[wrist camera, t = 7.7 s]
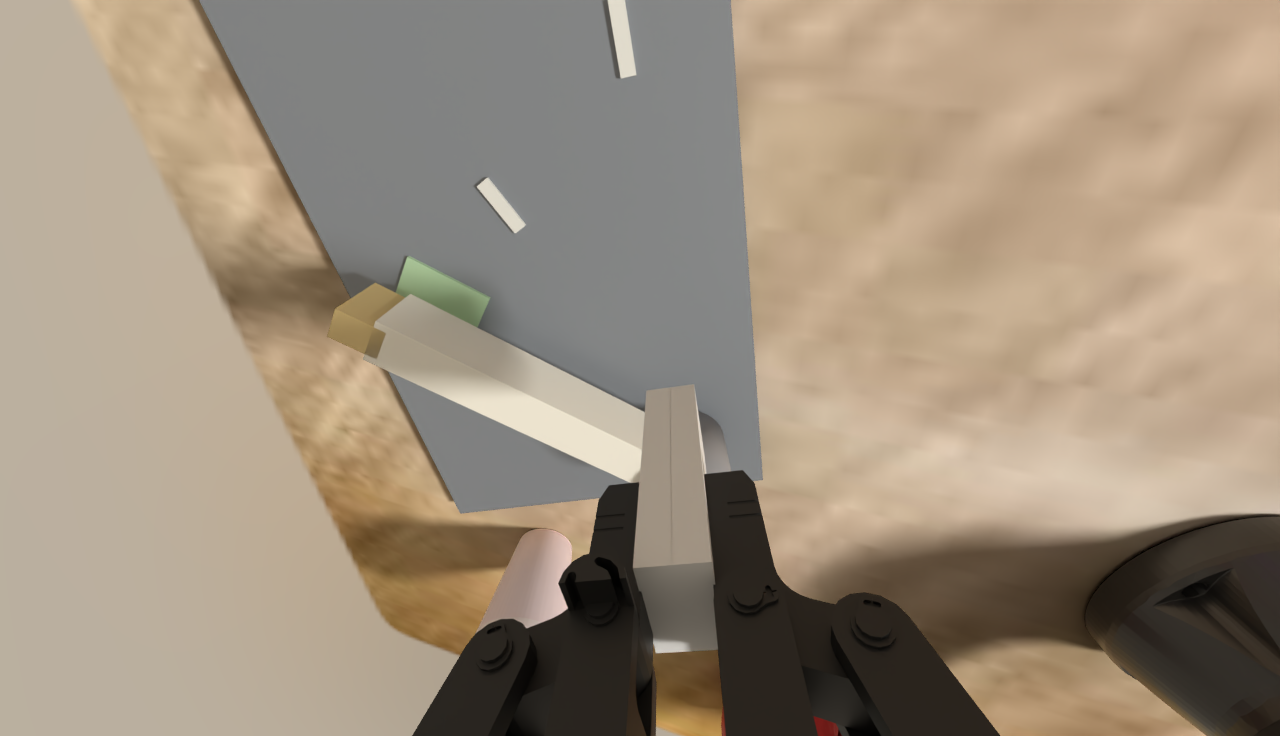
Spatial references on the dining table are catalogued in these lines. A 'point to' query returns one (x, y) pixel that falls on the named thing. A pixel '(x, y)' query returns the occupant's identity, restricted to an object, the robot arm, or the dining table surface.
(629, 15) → the dial plate
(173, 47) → the dining table surface
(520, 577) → the smoothie
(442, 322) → the lever
